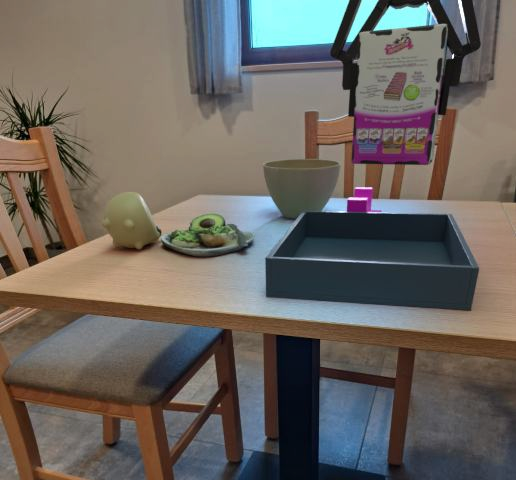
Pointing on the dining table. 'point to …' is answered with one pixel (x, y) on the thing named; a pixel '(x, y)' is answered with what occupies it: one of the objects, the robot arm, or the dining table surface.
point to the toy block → (361, 200)
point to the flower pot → (301, 184)
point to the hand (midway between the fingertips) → (395, 115)
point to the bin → (374, 260)
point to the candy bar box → (398, 94)
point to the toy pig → (130, 221)
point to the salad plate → (207, 237)
